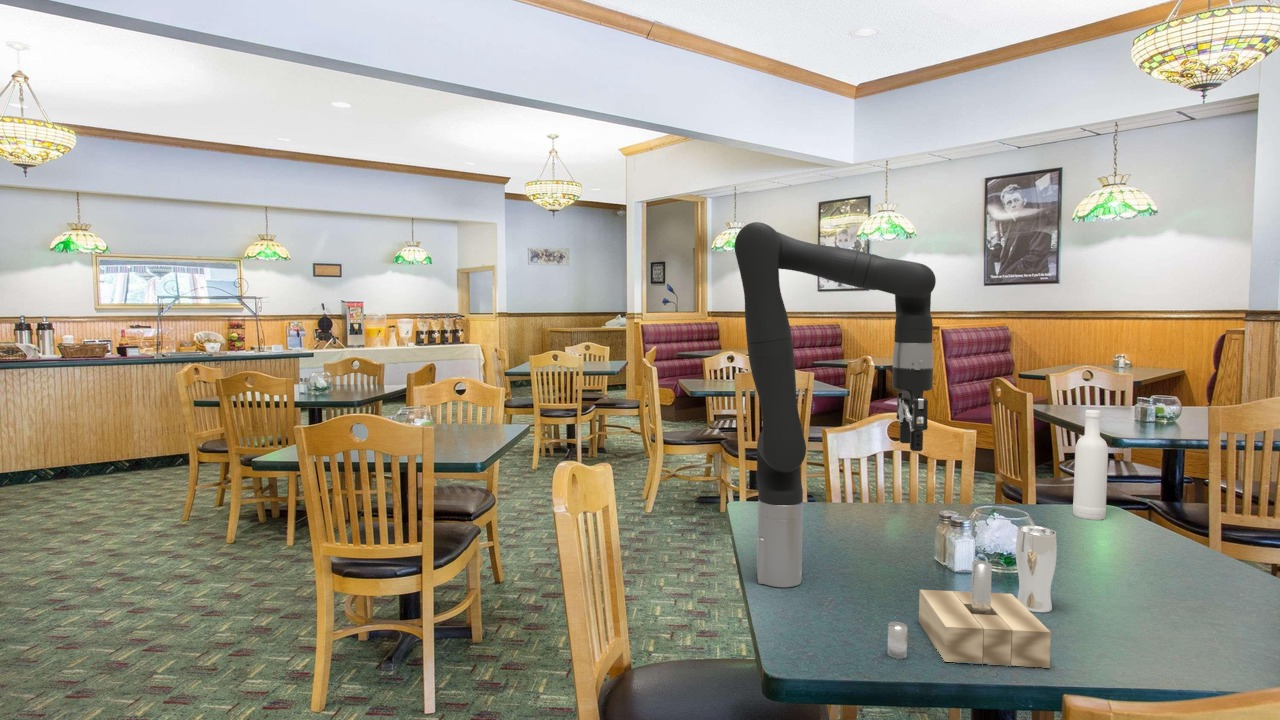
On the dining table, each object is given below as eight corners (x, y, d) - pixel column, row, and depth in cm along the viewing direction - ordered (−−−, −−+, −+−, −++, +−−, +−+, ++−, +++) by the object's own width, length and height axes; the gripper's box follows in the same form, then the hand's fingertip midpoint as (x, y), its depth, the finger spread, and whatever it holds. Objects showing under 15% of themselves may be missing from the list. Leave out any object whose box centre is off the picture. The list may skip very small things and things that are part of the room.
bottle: (1079, 519, 200) (1083, 411, 198) (1067, 512, 208) (1071, 408, 206) (1111, 520, 199) (1115, 412, 197) (1097, 513, 206) (1102, 408, 204)
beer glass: (1006, 600, 143) (1008, 525, 142) (1039, 598, 144) (1042, 524, 143) (1028, 614, 136) (1031, 536, 135) (1063, 613, 137) (1066, 535, 136)
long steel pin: (973, 647, 123) (975, 565, 122) (967, 639, 125) (969, 560, 125) (992, 648, 122) (994, 566, 121) (985, 640, 125) (988, 560, 124)
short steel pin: (889, 658, 118) (890, 628, 118) (885, 650, 121) (886, 621, 121) (908, 659, 118) (909, 629, 118) (904, 651, 121) (904, 622, 121)
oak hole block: (944, 662, 117) (945, 626, 117) (918, 621, 133) (919, 589, 132) (1049, 668, 115) (1050, 632, 115) (1010, 626, 131) (1011, 593, 130)
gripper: (885, 363, 150) (883, 440, 151) (901, 368, 136) (899, 453, 137) (922, 363, 149) (920, 441, 150) (943, 368, 135) (940, 454, 136)
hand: (910, 446), depth 144 cm, fingers open, 8 cm apart
